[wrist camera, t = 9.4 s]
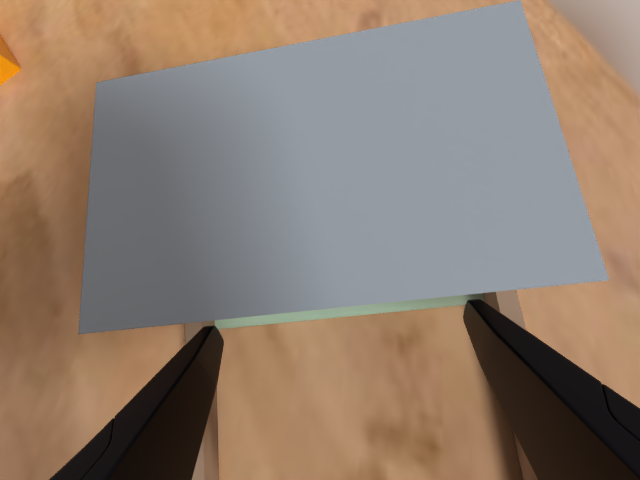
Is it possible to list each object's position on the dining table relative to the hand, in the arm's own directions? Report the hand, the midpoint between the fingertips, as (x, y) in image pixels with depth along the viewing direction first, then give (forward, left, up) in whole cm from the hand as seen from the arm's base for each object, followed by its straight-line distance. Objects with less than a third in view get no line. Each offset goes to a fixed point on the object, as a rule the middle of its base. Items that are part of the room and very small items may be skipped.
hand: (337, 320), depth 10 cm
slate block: (+2, +3, -6) cm, 7 cm away
